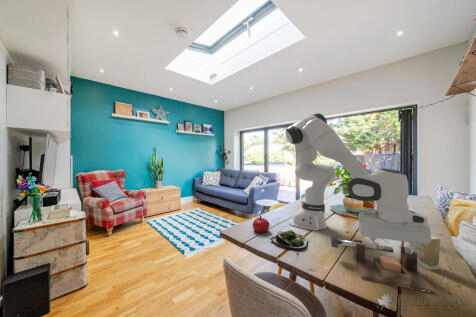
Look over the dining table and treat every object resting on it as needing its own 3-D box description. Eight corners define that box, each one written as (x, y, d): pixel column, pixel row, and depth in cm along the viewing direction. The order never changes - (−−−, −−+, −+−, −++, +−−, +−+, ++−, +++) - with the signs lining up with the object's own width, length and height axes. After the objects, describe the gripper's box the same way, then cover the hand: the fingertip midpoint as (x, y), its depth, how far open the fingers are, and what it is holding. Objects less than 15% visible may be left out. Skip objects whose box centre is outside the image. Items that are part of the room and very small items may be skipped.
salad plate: (278, 230, 105) (278, 222, 105) (309, 236, 97) (309, 228, 97) (267, 244, 88) (267, 235, 88) (304, 254, 80) (304, 244, 80)
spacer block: (384, 276, 63) (384, 262, 63) (380, 268, 67) (380, 255, 67) (400, 279, 61) (400, 265, 61) (394, 271, 65) (394, 258, 65)
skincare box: (412, 260, 73) (412, 231, 73) (421, 260, 74) (421, 231, 73) (430, 270, 67) (430, 239, 67) (440, 270, 67) (440, 238, 67)
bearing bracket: (361, 278, 63) (361, 256, 63) (352, 257, 76) (352, 239, 76) (436, 293, 56) (436, 269, 56) (411, 267, 69) (411, 247, 69)
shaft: (331, 246, 75) (331, 238, 75) (330, 242, 78) (330, 235, 78) (394, 256, 67) (394, 247, 67) (390, 252, 71) (390, 243, 71)
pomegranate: (264, 236, 98) (264, 220, 97) (249, 231, 104) (249, 216, 103) (272, 229, 106) (272, 214, 105) (258, 225, 112) (258, 211, 111)
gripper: (360, 213, 64) (360, 250, 65) (434, 219, 57) (434, 261, 57) (355, 208, 70) (356, 242, 71) (422, 213, 63) (422, 251, 63)
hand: (391, 250), depth 64 cm, fingers open, 8 cm apart
